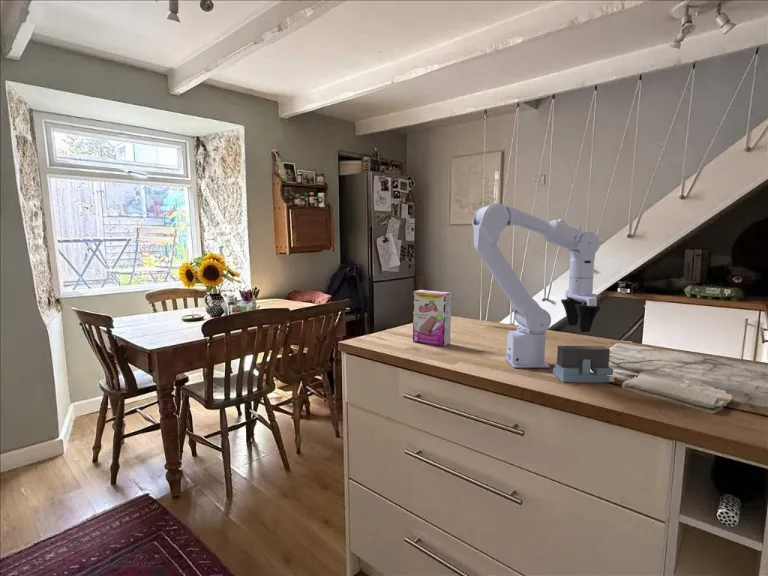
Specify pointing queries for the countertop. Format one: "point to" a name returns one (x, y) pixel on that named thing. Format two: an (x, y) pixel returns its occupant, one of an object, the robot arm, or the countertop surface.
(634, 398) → the countertop surface
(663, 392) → the washcloth
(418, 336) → the candy bar box
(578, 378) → the display stand
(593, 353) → the dark grey rectangular block
